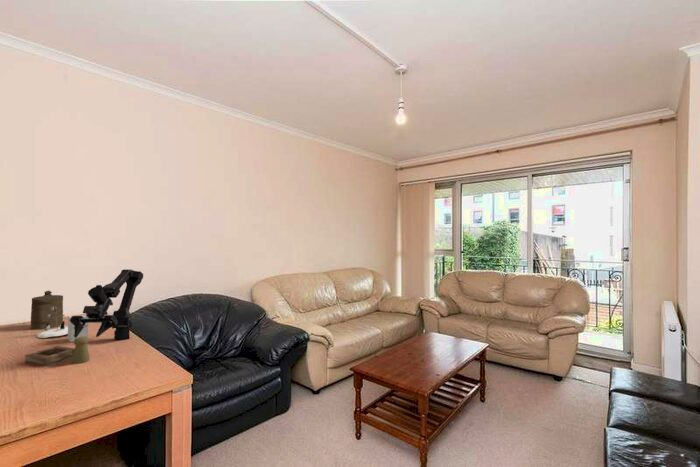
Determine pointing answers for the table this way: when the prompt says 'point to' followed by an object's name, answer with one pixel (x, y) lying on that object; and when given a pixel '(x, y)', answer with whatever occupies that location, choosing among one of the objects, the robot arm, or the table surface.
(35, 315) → the wooden container
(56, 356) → the walnut pocket block
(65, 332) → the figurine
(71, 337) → the supplement box
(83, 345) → the olive mushroom shape
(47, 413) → the table surface
